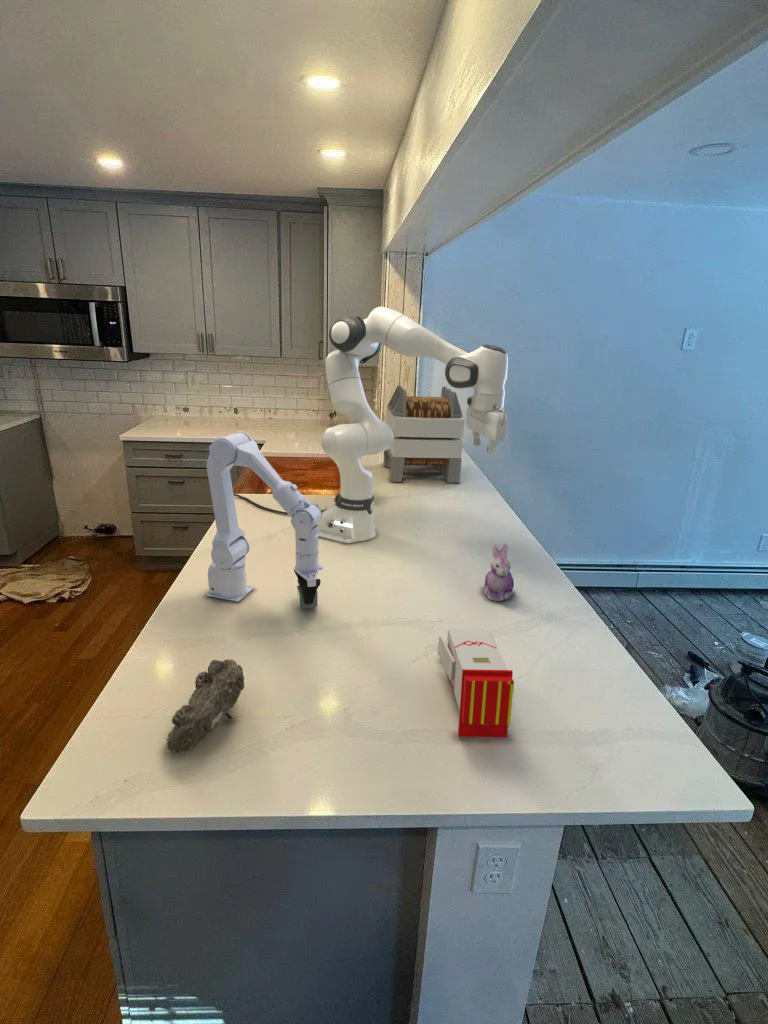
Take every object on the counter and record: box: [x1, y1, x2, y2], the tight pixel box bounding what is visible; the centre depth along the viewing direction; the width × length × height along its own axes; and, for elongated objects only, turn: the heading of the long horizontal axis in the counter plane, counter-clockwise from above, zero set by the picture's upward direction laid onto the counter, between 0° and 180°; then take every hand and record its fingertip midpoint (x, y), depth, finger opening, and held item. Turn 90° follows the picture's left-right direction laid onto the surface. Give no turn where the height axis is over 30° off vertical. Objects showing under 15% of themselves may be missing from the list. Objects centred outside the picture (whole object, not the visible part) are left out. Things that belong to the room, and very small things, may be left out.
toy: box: [437, 628, 515, 738], centre depth 117 cm, size 12×13×30 cm
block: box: [296, 585, 319, 609], centre depth 147 cm, size 4×5×4 cm
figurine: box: [483, 543, 515, 602], centre depth 157 cm, size 9×10×15 cm
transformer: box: [383, 384, 466, 484], centre depth 268 cm, size 34×33×41 cm
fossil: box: [166, 658, 245, 754], centre depth 106 cm, size 22×10×15 cm
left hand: (307, 599), depth 148 cm, fingers closed on block, 4 cm apart
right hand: (483, 449), depth 171 cm, fingers open, 8 cm apart
